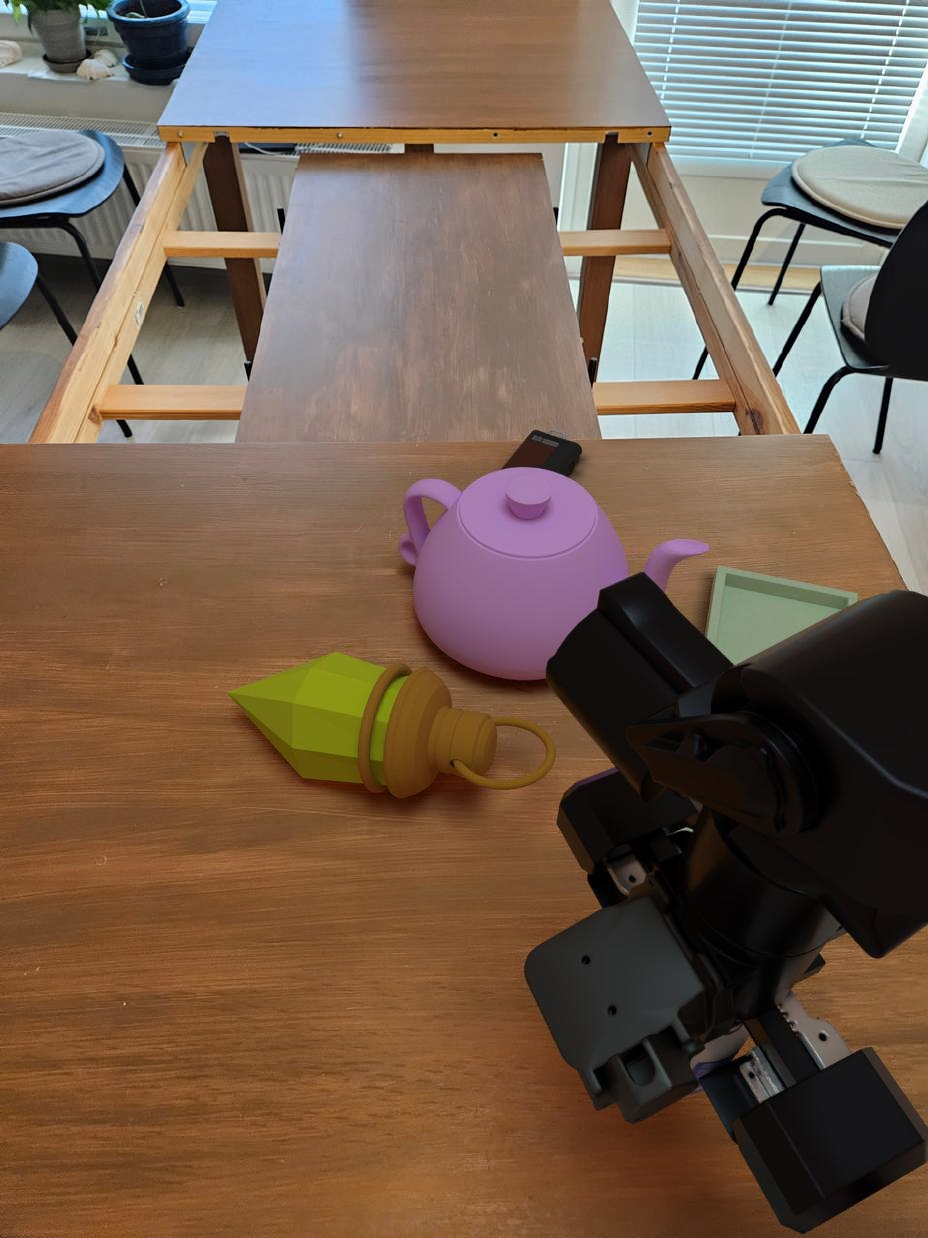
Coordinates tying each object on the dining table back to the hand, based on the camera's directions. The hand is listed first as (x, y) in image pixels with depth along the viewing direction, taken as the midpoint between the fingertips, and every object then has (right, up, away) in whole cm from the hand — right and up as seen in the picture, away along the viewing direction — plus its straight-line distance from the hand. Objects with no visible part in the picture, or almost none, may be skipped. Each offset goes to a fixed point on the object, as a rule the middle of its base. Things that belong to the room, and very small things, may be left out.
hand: (681, 1023), depth 44 cm
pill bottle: (0, -2, +2) cm, 3 cm away
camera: (-4, +33, +43) cm, 55 cm away
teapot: (-5, +20, +31) cm, 38 cm away
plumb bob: (-17, +9, +22) cm, 29 cm away
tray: (+13, +12, +24) cm, 30 cm away
